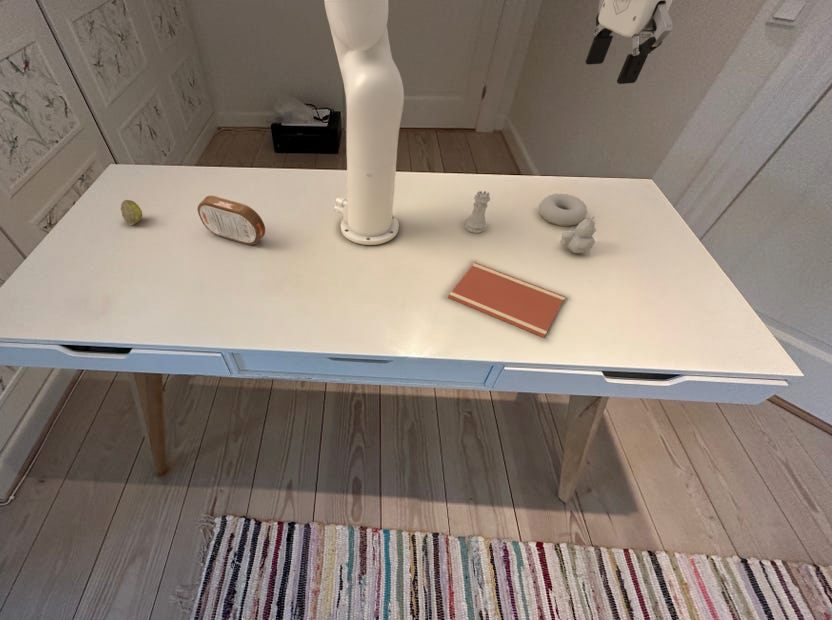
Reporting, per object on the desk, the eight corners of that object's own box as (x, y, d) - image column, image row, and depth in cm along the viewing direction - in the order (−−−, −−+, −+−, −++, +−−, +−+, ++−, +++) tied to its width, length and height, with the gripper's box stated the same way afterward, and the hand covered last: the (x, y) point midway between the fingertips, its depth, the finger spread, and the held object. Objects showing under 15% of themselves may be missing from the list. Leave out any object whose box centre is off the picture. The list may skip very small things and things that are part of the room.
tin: (269, 242, 89) (262, 206, 82) (260, 251, 87) (253, 214, 81) (210, 226, 93) (199, 190, 86) (202, 233, 91) (190, 197, 85)
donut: (588, 230, 91) (577, 204, 97) (595, 216, 89) (583, 191, 95) (540, 228, 92) (533, 202, 98) (546, 214, 89) (538, 189, 95)
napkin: (447, 297, 78) (448, 295, 78) (474, 263, 84) (474, 261, 84) (543, 338, 71) (544, 336, 71) (564, 298, 78) (565, 296, 77)
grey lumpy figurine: (592, 259, 85) (610, 224, 79) (558, 256, 85) (574, 222, 79) (586, 243, 88) (604, 208, 82) (554, 241, 89) (569, 206, 83)
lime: (142, 227, 93) (132, 207, 89) (120, 227, 93) (110, 206, 89) (149, 216, 95) (140, 195, 92) (128, 216, 96) (118, 195, 92)
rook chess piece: (462, 222, 93) (469, 188, 87) (481, 221, 93) (490, 187, 87) (467, 234, 90) (475, 200, 84) (487, 233, 91) (497, 199, 84)
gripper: (607, -76, 64) (563, 58, 77) (684, -59, 53) (617, 93, 67) (652, -77, 65) (601, 55, 78) (736, -61, 54) (660, 89, 67)
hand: (608, 72), depth 72 cm, fingers open, 9 cm apart
